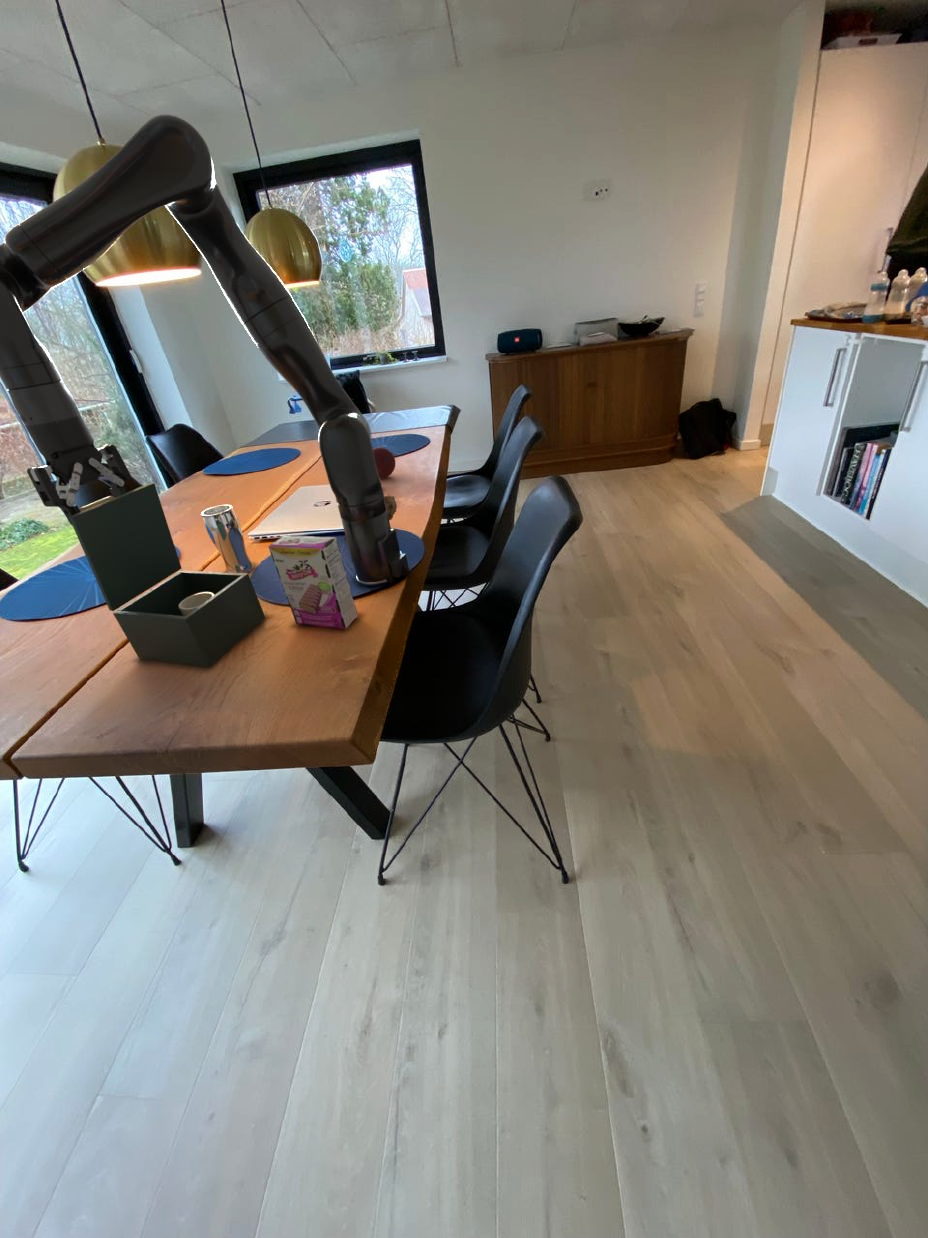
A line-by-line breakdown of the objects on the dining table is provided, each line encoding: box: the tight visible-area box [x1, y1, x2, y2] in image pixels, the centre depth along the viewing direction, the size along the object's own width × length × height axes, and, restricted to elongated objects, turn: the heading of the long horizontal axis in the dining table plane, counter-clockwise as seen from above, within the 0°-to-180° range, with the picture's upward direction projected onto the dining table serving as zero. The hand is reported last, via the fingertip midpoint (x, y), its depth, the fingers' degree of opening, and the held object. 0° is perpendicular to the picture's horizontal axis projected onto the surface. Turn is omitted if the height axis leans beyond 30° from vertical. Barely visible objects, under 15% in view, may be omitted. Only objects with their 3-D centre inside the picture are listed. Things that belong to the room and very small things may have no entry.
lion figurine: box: [344, 494, 398, 540], centre depth 127 cm, size 15×5×9 cm, turn 110°
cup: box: [179, 592, 214, 616], centre depth 93 cm, size 6×6×8 cm
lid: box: [69, 482, 182, 612], centre depth 89 cm, size 17×16×6 cm
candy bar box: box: [268, 534, 359, 630], centre depth 91 cm, size 11×5×16 cm, turn 71°
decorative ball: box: [372, 446, 396, 479], centre depth 170 cm, size 10×10×10 cm
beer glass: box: [200, 504, 255, 573], centre depth 117 cm, size 7×7×15 cm
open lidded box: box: [112, 569, 267, 669], centre depth 93 cm, size 16×16×10 cm
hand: (105, 517), depth 87 cm, fingers open, 8 cm apart
